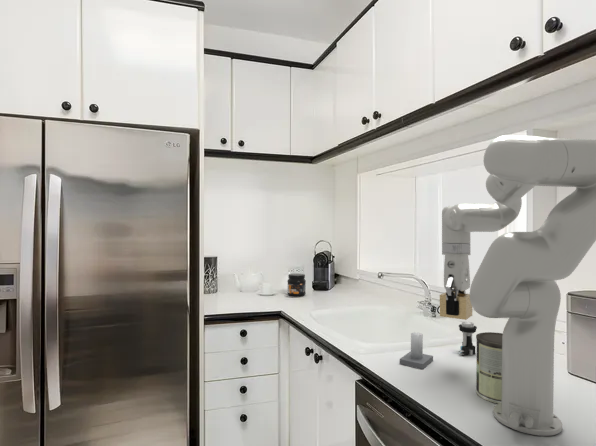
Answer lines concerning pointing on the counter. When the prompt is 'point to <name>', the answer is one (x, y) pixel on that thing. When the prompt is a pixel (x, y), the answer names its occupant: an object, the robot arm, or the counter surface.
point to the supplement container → (296, 285)
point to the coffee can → (489, 366)
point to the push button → (467, 338)
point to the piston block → (416, 353)
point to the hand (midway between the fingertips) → (456, 312)
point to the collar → (464, 306)
